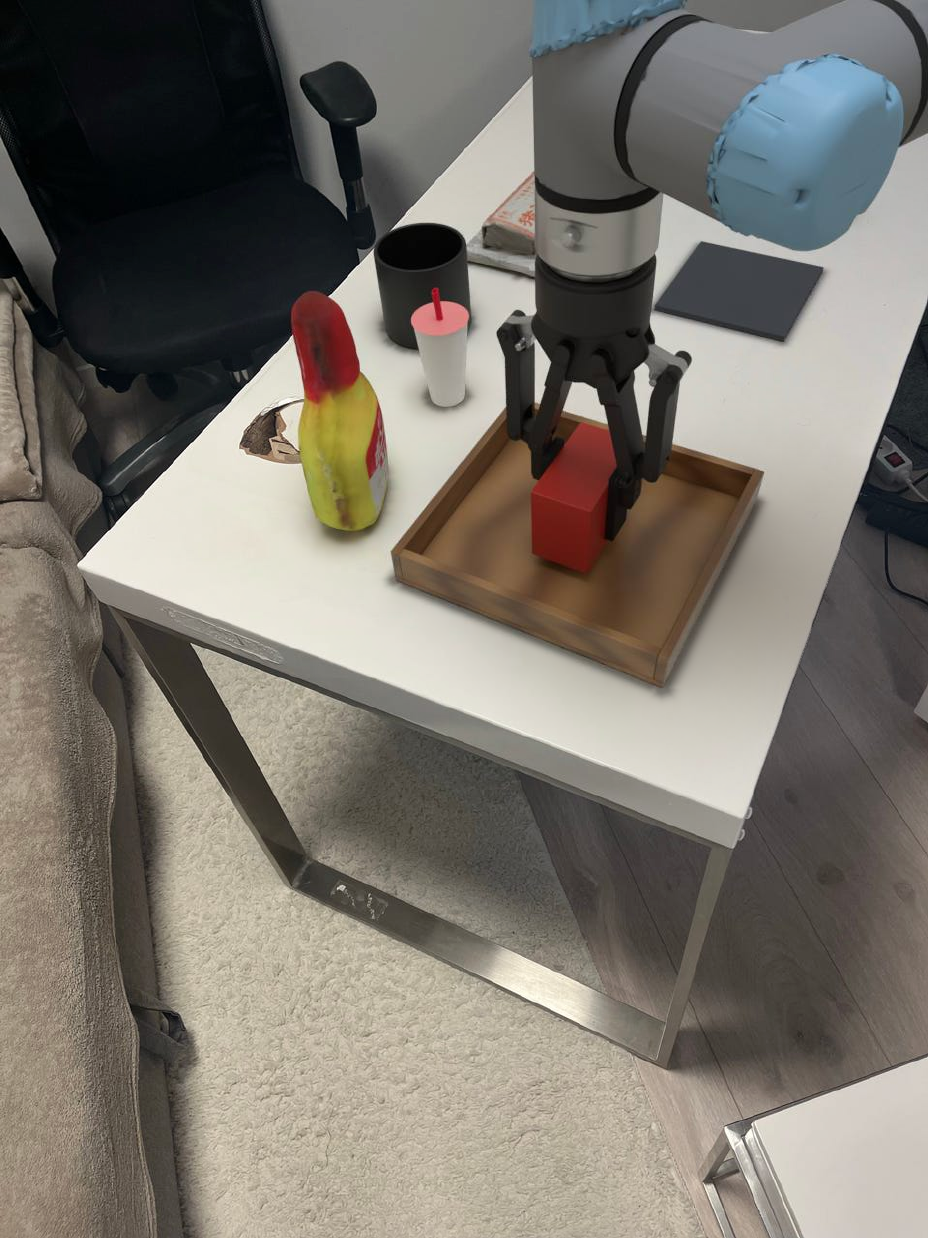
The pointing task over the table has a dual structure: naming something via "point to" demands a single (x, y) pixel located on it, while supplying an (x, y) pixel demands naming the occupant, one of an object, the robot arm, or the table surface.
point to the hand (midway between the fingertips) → (583, 517)
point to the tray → (623, 572)
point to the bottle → (337, 419)
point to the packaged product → (509, 233)
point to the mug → (419, 274)
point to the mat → (740, 290)
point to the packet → (574, 500)
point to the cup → (442, 348)
